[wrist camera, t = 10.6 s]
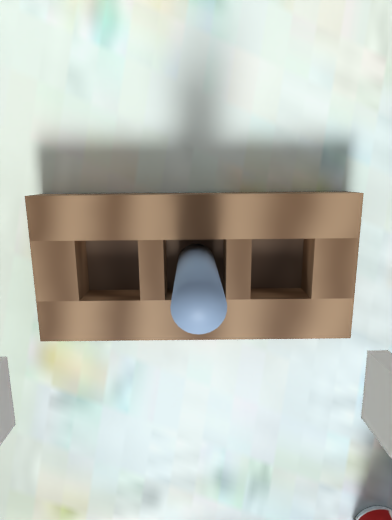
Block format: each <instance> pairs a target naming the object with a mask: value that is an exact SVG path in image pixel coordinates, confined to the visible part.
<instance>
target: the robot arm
mask: <svg viewBox="0 0 392 520" xmlns="http://www.w3.org/2000/svg"><path fill="white" fill-rule="evenodd" d="M361 418H362V419H363V421H364V422H365V423H366V425H367V426H368V428H369V429H370V430H371V432H372V433H373V434H374V436H375V437H376V439H377V440H378V441H379V443H380V444H381V445H382V447H383V448H384V449H385V451H386V452H387V454H388V455H389V456H390V458H391V459H392V353H391V352H390V351H388V350H381V351H367V361H366V372H365V382H364V393H363V403H362V414H361ZM14 426H15V416H14V408H13V400H12V392H11V384H10V376H9V368H8V360H7V357H0V445H1V444H2V442H3V441H4V440H5V438H6V437H7V435H8V434H9V433H10V431H11V430H12V428H13V427H14Z"/></svg>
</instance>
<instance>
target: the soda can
mask: <svg viewBox="0 0 392 520" xmlns="http://www.w3.org/2000/svg"><path fill="white" fill-rule="evenodd" d="M355 520H392V510H391V509H389V508H387V507H383V506H372V507H369V508H366V509H364V510H363V511H361V512H360V513H359V514H358V515H357V516H356V518H355Z"/></svg>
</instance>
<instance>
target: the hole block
mask: <svg viewBox="0 0 392 520" xmlns="http://www.w3.org/2000/svg"><path fill="white" fill-rule="evenodd" d="M25 202H26V211H27V220H28V230H29V239H30V248H31V257H32V266H33V276H34V285H35V294H36V303H37V313H38V322H39V331H40V340H41V341H115V340H214V339H312V338H351V327H352V315H353V304H354V293H355V282H356V271H357V260H358V248H359V237H360V226H361V215H362V204H363V193H357V192H346V191H342V192H228V193H113V194H39V195H30V196H25ZM191 244H202V245H204V246H206V247H207V248H209V249H210V251H211V252H212V254H213V256H214V260H215V263H216V267H217V270H218V274H219V277H220V281H221V284H222V287H223V291H224V294H225V298H226V302H227V313H226V316H225V319H224V321H223V322H222V323H221V325H220V326H219V327H218V328H216V329H215V330H213V331H211V332H209V333H206V334H191V333H188V332H186V331H184V330H182V329H181V328H180V327H179V326H178V325H177V324H176V323H175V321H174V320H173V318H172V315H171V308H170V307H171V299H172V293H173V287H174V281H175V275H176V269H177V263H178V257H179V254H180V252H181V251H182V250H183V249H184V248H185V247H186V246H188V245H191Z"/></svg>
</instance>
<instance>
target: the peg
mask: <svg viewBox="0 0 392 520" xmlns="http://www.w3.org/2000/svg"><path fill="white" fill-rule="evenodd" d="M170 308H171V315H172V318H173V320H174V321H175V323H176V324H177V325H178V326H179V327H180V328H181V329H182V330H184V331H186V332H188V333H191V334H206V333H209V332H211V331H213V330H215V329H216V328H218V327H219V326H220V325H221V323H222V322H223V321H224V319H225V316H226V313H227V302H226V298H225V294H224V291H223V287H222V284H221V281H220V277H219V274H218V270H217V267H216V263H215V260H214V256H213V254H212V252H211V251H210V249H209V248H207V247H206V246H204V245H202V244H191V245H188V246H186V247H185V248H184V249H183V250H182V251H181V252H180V254H179V257H178V263H177V269H176V275H175V281H174V287H173V293H172V299H171V307H170Z"/></svg>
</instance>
